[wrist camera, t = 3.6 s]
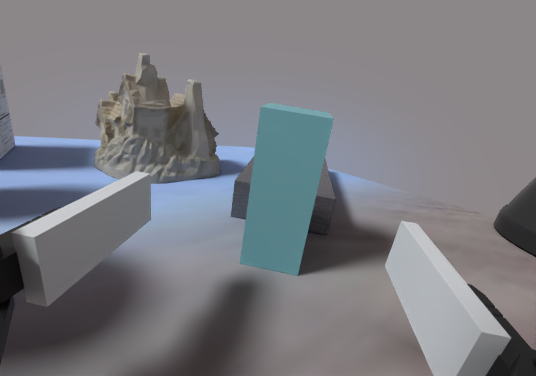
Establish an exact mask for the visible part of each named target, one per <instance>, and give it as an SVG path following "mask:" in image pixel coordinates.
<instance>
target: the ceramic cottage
mask: <svg viewBox="0 0 536 376" xmlns="http://www.w3.org/2000/svg"><path fill="white" fill-rule="evenodd" d="M95 124H96V125H97V126H98V127H99V128H100V138H101V147H100V148H99V149H98V150H97V151H96V152H95V161H94V166H95V167H97V169H98V170H101V171H103V172H104V173H105V174H107V175H109V176H111V177H115V178H116V179H119V180H120V179H122V178H124V177H126V176H128V175H130V174H132V173H134V172H136V171H139V172H144V173H149V174H150V183H151V184H160V183H169V182H177V181H184V180H194V179H201V178H209V177H214V176H216V175H218V174H220V161H219V158H218V156H217V155H216V154H215V152H216V147H217V145H216V142H215V141H214V137H216V136H217V135H218V134H219V133H217V132H216V131H215V128H213V126H212V124H211V122H210V121H209V120H208V118H207V117H206V114H205V113H204V110H203V101H202V91H201V83H200V82H199V81H195V80H191V79H189V80H188V81H187V85H186V91H185V95H181V94H178V93H175V94H174V96H173V97H172V99H171V100H170V101H169V92H168V87H167V83H166V79H165V77H157V71H156V68H155V66H154V65H151V64H150V56H149V55H148V54H144V53H139V58H138V62H137V67H136V74H134V75H130V74H126V73H124V74H123V76H122V82H121V86H120V89H119V94H118V93H117V92H114V91H110V92H109V99H108V100H106V99H100V101H99V104H98V111H97V117H96V121H95Z"/></svg>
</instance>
